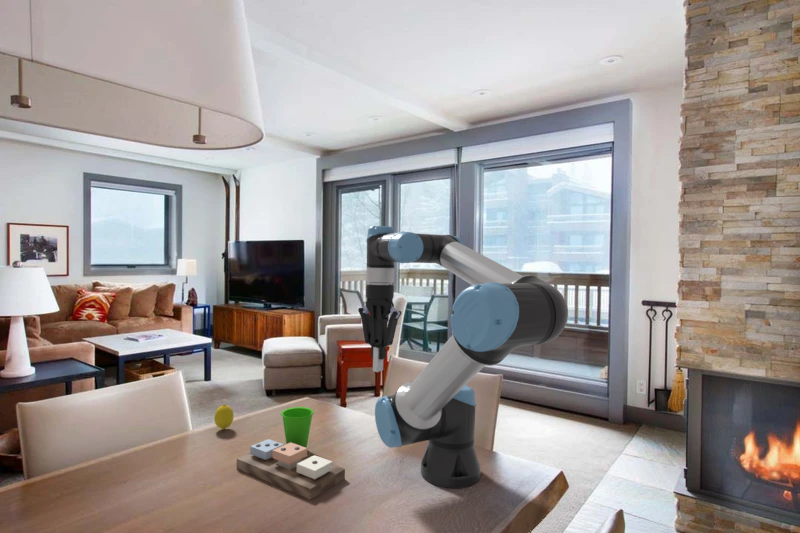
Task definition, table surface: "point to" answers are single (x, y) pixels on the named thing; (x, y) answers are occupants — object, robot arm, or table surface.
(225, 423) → the lemon
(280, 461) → the tile two
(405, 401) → the robot arm
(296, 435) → the cup
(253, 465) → the board
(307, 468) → the tile one
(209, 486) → the table surface
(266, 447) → the tile three
